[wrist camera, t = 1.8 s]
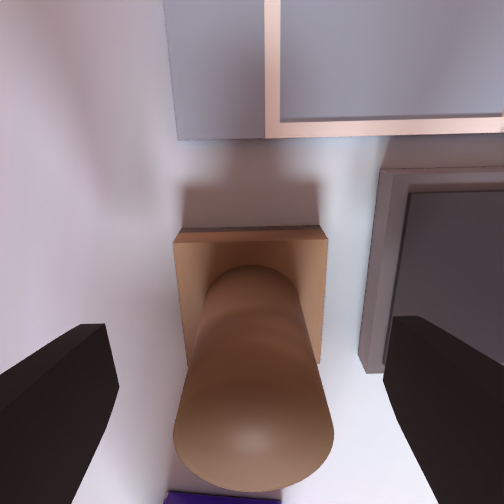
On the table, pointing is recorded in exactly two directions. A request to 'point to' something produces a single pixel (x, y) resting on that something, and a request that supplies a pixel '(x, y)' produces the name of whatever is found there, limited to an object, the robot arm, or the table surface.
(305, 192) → the table surface
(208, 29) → the print card
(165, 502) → the supplement box
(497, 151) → the table surface
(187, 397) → the stamp
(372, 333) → the pad
